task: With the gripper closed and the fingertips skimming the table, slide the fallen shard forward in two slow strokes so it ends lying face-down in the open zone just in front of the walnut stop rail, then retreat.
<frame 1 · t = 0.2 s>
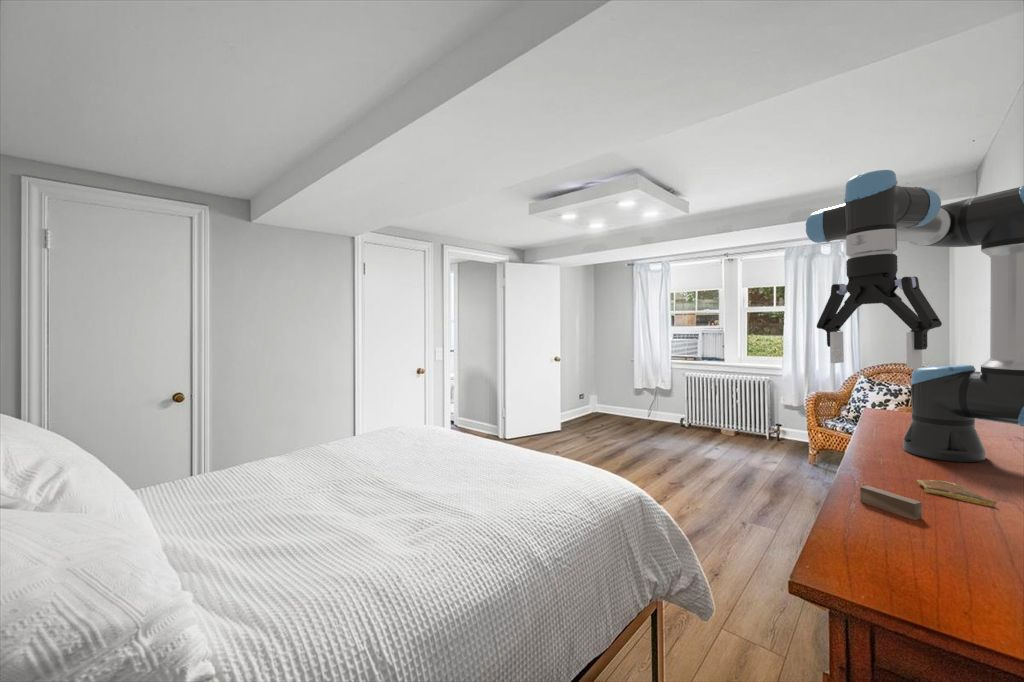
hand: (872, 365, 83), 28 cm above the dresser, fingers open, 13 cm apart
walnut rail: (889, 509, 82), on the dresser
shard: (956, 496, 88), on the dresser
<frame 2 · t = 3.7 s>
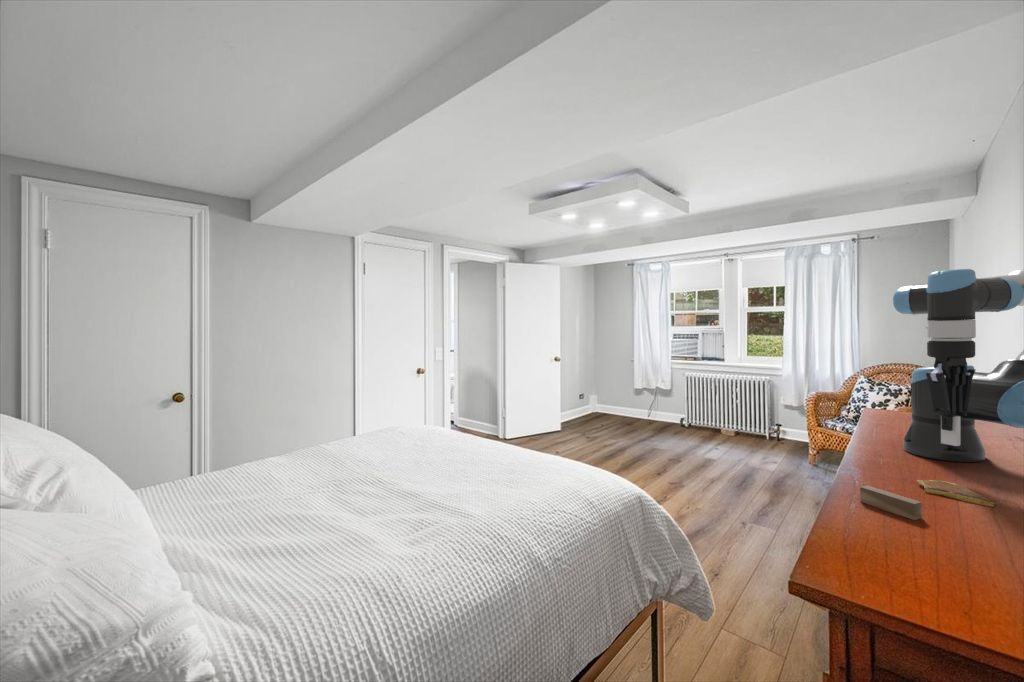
hand: (950, 444, 96), 8 cm above the dresser, fingers closed
nothing on the dresser moved.
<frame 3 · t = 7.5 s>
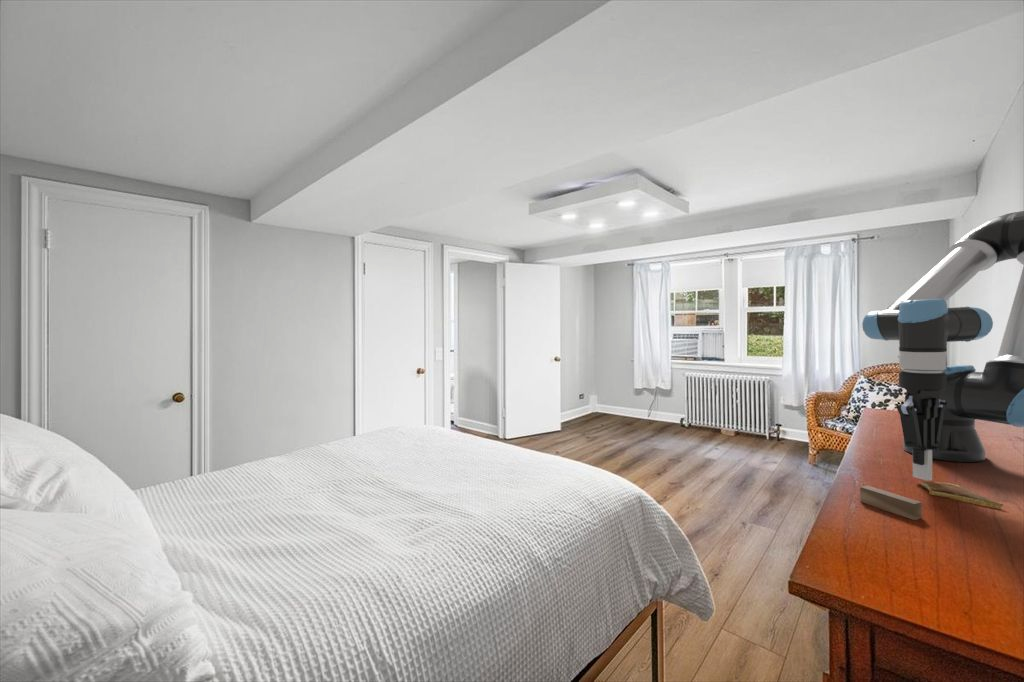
hand: (922, 478, 93), 1 cm above the dresser, fingers closed
shard: (961, 498, 87), on the dresser, touching gripper
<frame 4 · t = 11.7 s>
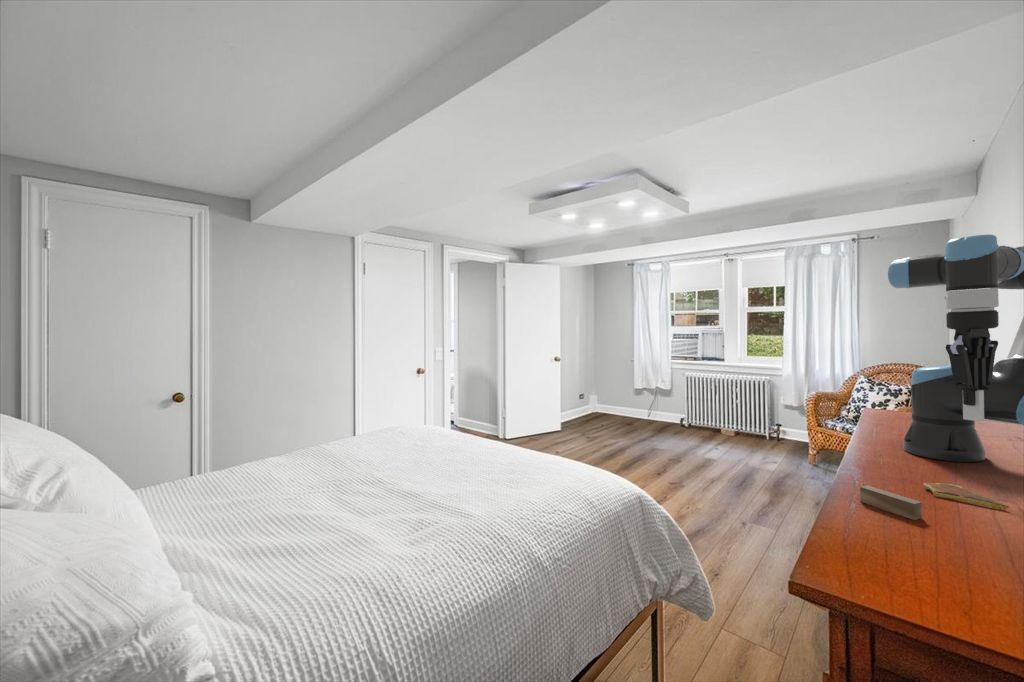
hand: (973, 419, 91), 14 cm above the dresser, fingers closed
shard: (964, 499, 86), on the dresser
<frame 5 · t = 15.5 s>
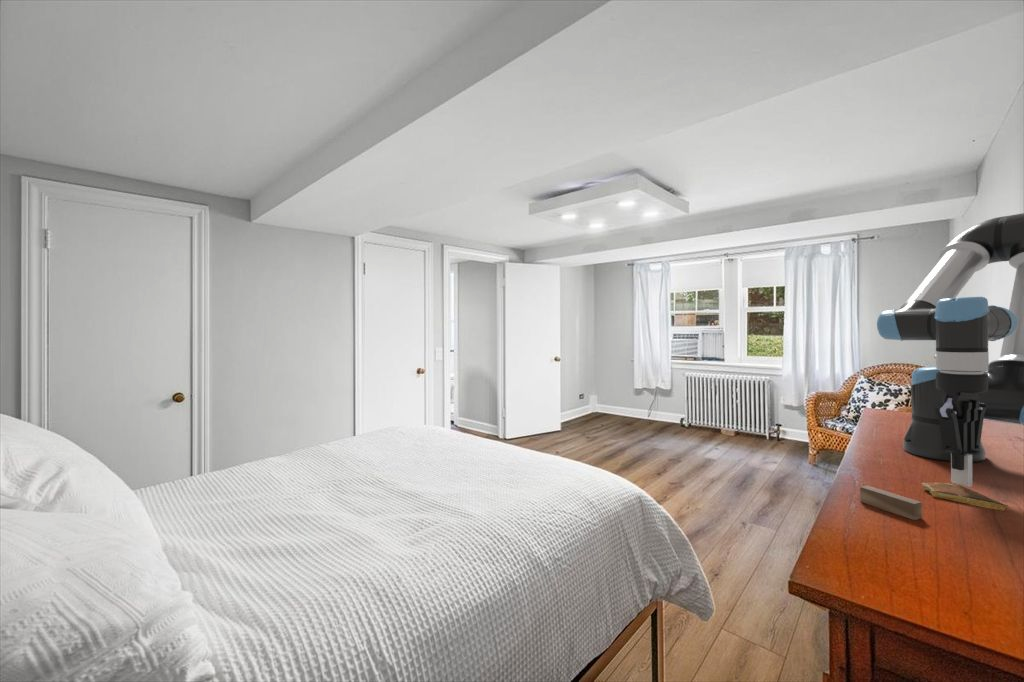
hand: (961, 484, 89), 1 cm above the dresser, fingers closed
shard: (963, 499, 86), on the dresser, touching gripper
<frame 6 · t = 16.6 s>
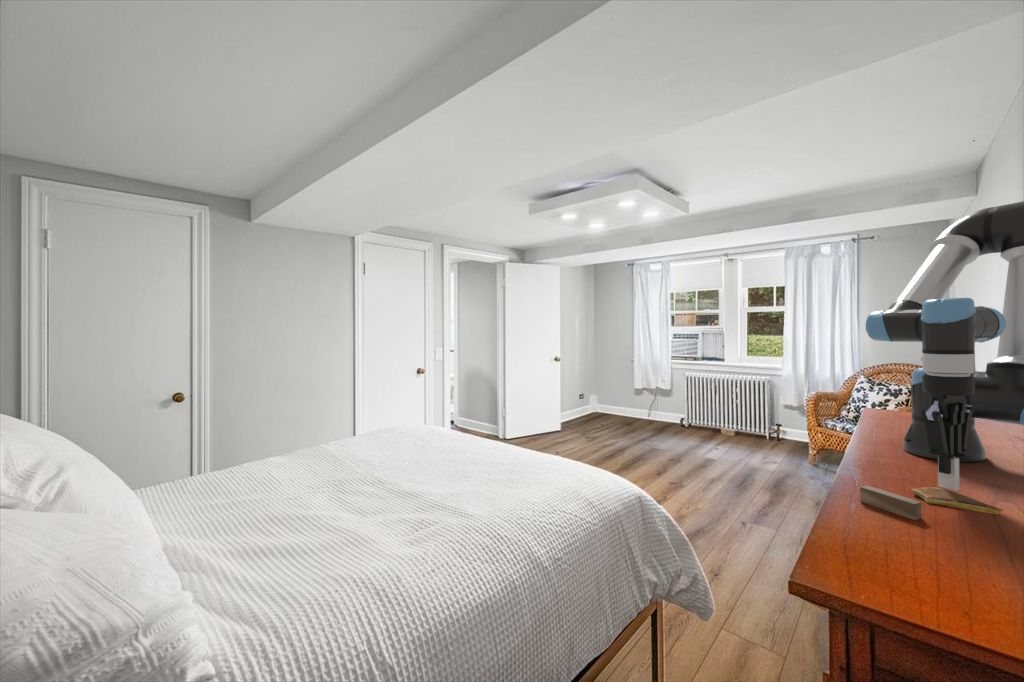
hand: (948, 487, 88), 1 cm above the dresser, fingers closed
shard: (953, 503, 84), on the dresser, touching gripper
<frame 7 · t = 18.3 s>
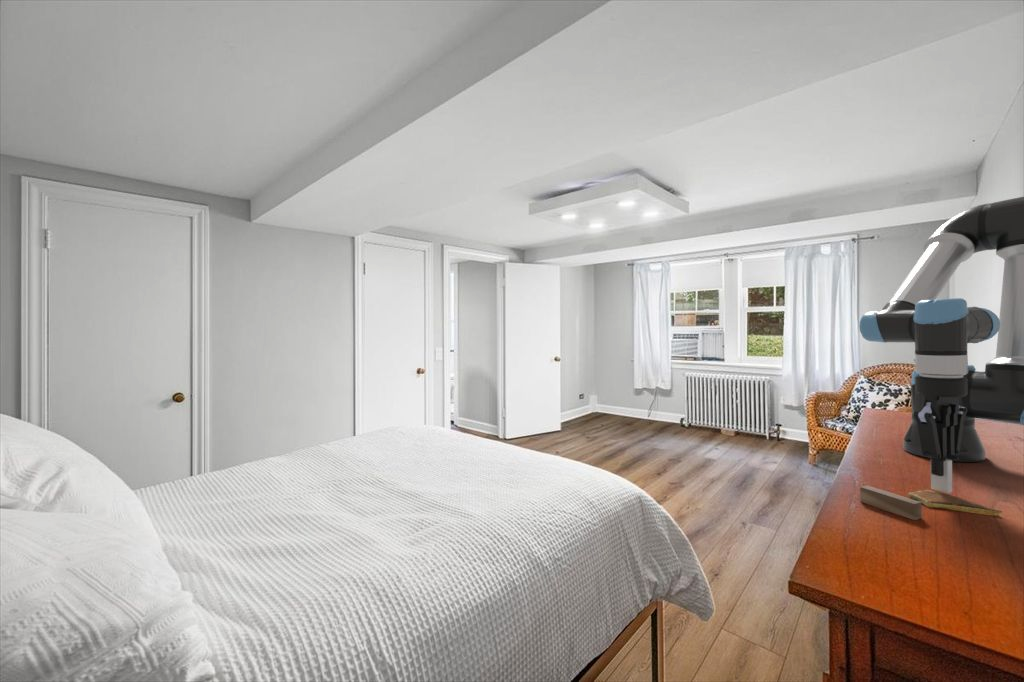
hand: (941, 490, 87), 1 cm above the dresser, fingers closed
shard: (949, 506, 84), on the dresser
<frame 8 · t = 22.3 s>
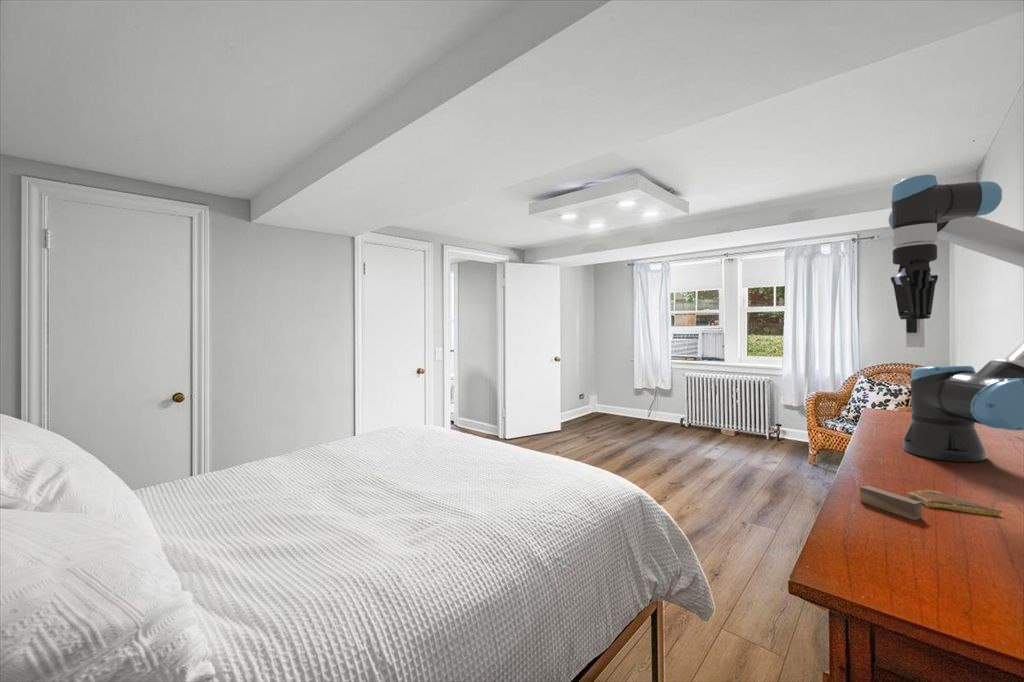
hand: (915, 346, 100), 29 cm above the dresser, fingers closed
nothing on the dresser moved.
at the end: shard inside the target area (5.6 cm from its centre), on the dresser; shard moved 7.3 cm from its start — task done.
